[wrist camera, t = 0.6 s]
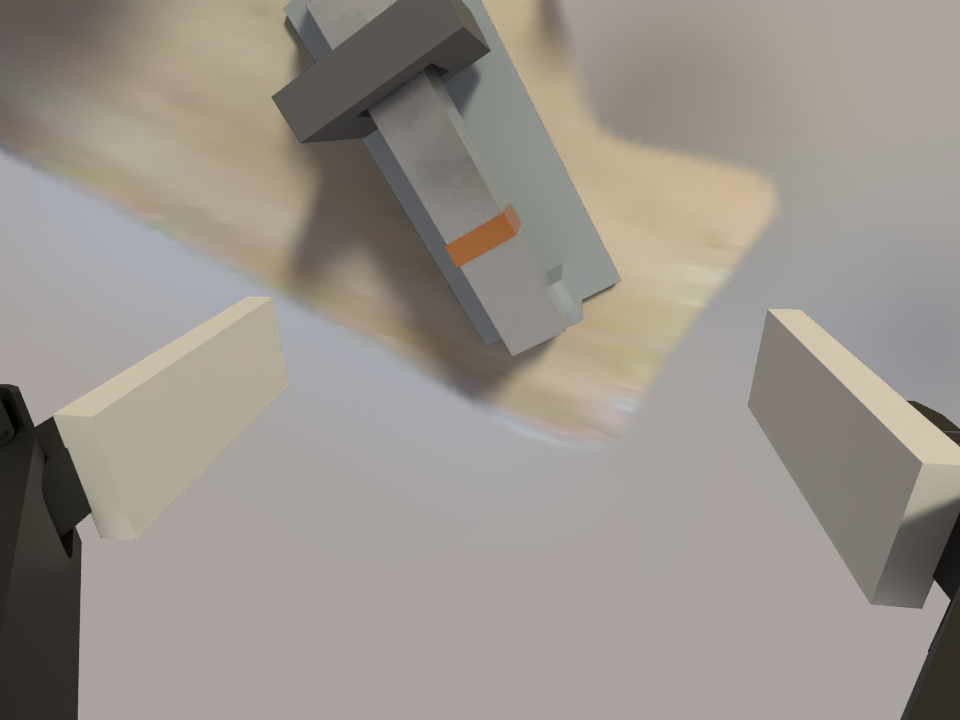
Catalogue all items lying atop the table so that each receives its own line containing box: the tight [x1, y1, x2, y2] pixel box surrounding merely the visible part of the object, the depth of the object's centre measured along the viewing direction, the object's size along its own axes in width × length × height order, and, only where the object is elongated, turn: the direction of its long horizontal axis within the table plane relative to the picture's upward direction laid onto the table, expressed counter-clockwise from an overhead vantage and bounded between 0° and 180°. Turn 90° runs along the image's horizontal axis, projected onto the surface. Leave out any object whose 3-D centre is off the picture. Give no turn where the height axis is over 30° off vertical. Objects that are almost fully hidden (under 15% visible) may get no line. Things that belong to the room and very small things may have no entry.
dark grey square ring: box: [272, 0, 491, 143], centre depth 30 cm, size 2×10×10 cm, turn 120°
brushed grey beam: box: [303, 0, 566, 356], centre depth 32 cm, size 24×4×4 cm, turn 30°
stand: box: [283, 0, 621, 347], centre depth 36 cm, size 26×11×5 cm, turn 30°
